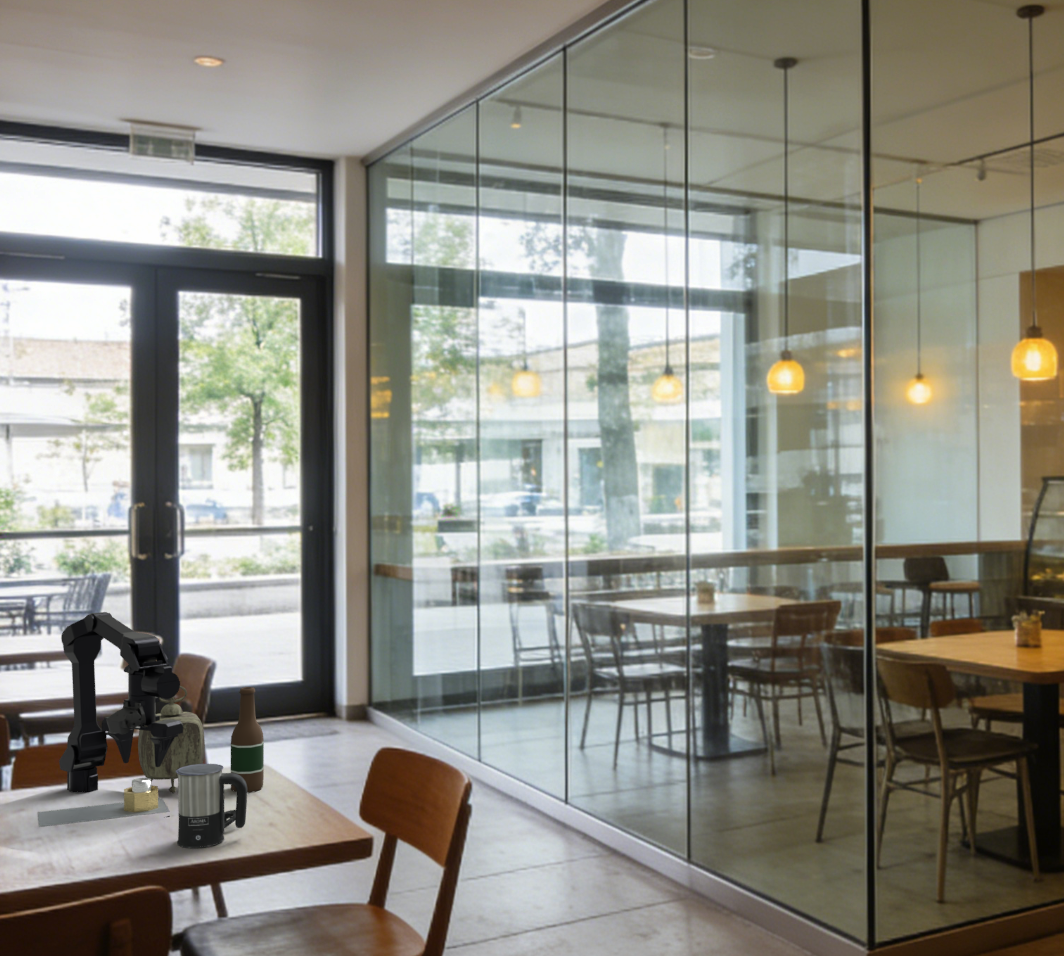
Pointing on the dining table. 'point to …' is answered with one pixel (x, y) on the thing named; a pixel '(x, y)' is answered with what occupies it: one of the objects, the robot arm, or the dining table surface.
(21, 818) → the dining table surface
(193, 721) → the tabletop clock
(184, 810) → the milk frother
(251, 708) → the beer bottle
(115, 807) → the fit board
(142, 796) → the brass ring
